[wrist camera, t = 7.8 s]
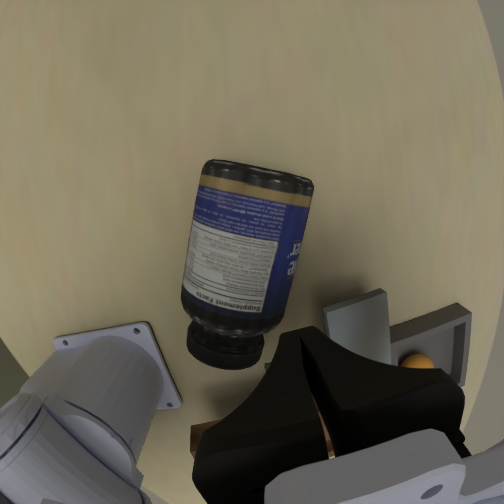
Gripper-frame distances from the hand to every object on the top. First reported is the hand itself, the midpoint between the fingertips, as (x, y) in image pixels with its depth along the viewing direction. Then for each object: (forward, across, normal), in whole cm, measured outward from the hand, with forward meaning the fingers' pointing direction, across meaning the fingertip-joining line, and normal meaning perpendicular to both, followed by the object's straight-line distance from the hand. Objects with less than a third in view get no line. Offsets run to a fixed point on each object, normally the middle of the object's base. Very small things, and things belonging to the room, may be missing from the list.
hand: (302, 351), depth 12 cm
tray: (+10, -10, +10) cm, 17 cm away
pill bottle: (+7, 0, -7) cm, 10 cm away
